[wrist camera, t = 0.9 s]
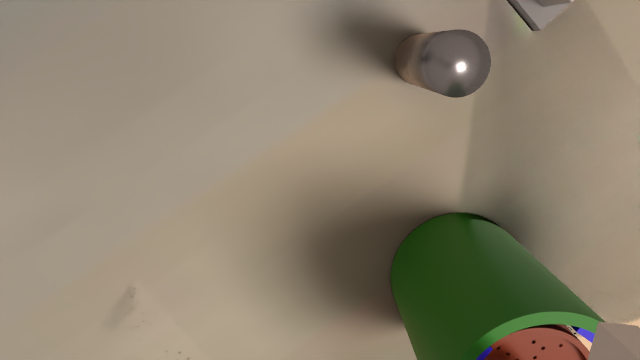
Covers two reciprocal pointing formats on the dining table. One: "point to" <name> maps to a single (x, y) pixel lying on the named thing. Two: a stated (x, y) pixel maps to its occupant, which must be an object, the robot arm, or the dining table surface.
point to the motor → (484, 296)
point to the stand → (538, 11)
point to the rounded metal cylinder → (444, 62)
